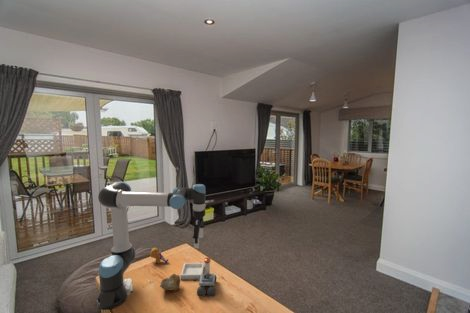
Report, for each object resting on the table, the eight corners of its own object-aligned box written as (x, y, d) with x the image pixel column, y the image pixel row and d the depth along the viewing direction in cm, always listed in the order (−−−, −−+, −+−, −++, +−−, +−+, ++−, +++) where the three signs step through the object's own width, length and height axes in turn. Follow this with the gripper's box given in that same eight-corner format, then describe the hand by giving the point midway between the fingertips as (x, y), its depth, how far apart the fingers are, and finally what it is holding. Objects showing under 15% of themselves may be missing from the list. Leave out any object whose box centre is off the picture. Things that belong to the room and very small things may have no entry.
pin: (203, 280, 134) (203, 261, 133) (204, 276, 138) (204, 257, 137) (210, 280, 135) (210, 261, 133) (210, 276, 138) (210, 257, 137)
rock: (174, 297, 129) (174, 281, 128) (158, 294, 131) (157, 278, 130) (183, 284, 141) (183, 269, 140) (168, 281, 143) (167, 266, 142)
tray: (180, 279, 145) (180, 275, 145) (184, 266, 159) (184, 262, 159) (202, 279, 146) (202, 274, 145) (203, 266, 160) (204, 262, 159)
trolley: (196, 296, 130) (196, 284, 129) (199, 281, 144) (199, 269, 143) (215, 296, 130) (215, 284, 130) (216, 281, 144) (216, 269, 144)
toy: (170, 255, 161) (155, 242, 164) (162, 263, 155) (147, 249, 158) (167, 263, 169) (153, 250, 172) (159, 271, 163) (145, 257, 167)
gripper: (201, 217, 125) (200, 253, 127) (208, 203, 149) (208, 233, 151) (187, 216, 125) (187, 252, 127) (197, 203, 150) (197, 233, 152)
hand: (198, 242), depth 139 cm, fingers open, 13 cm apart
